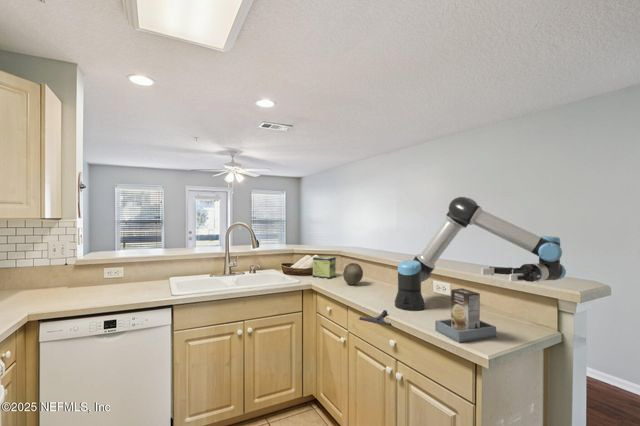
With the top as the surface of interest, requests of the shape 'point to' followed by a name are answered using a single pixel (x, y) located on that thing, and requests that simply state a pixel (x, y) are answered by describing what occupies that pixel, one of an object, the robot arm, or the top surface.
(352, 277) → the dark brown ball
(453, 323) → the coffee box
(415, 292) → the robot arm
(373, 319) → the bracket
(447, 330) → the tray
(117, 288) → the top surface
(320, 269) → the protein box
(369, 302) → the top surface
